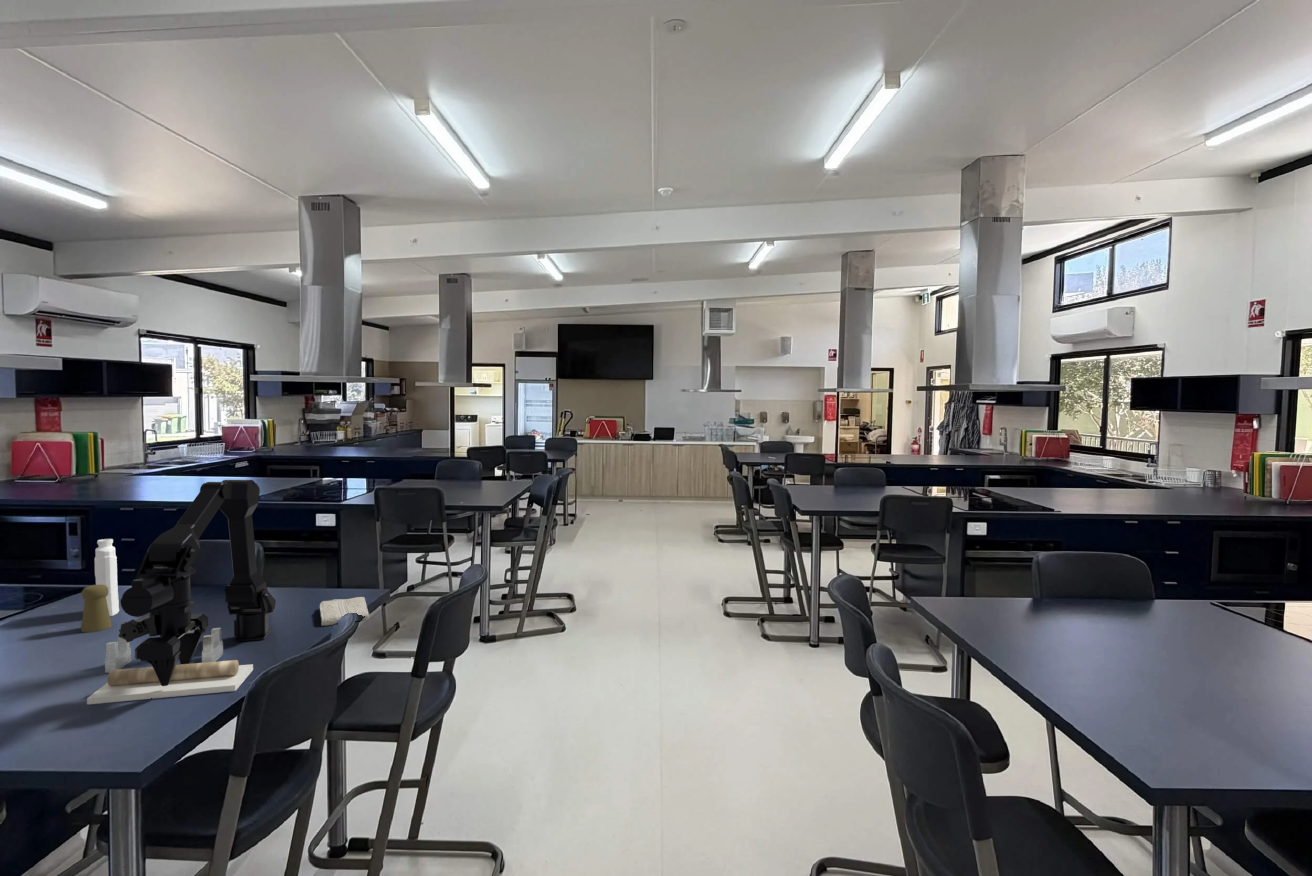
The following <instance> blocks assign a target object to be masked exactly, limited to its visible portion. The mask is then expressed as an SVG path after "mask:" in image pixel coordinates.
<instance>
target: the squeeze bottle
mask: <svg viewBox="0 0 1312 876" xmlns="http://www.w3.org/2000/svg"><path fill="white" fill-rule="evenodd" d="M113 543H114V539H113V538H104V539H103V538H102V539H98V540H97V542H96V544H97V545H98V547H96V548H95V557H94V577H95V585H106V586H107V587H108V589H109V592H108V595H107V596H106V600H107V605H108V610H109V615H110V617H113V616H115V615H117V614H118V613H119V612H120V607H119V606H120V605H119V604H120V602H119V601H120V600H119V592H118V591H119V589H118V588H119V586H118V563H117V562H118V560H117V559H118V557H117V555H116V547H115V546H113Z"/></svg>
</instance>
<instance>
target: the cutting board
mask: <svg viewBox="0 0 1312 876" xmlns="http://www.w3.org/2000/svg"><path fill="white" fill-rule="evenodd" d="M253 670H254V664H253V663H252V664H239V668H238V672H237V674H236V675H231V676H220V677H208V678H196V679H185V680H173V681H170V682H169V685H168V686H161V684H160V682H150V683H138V684H126V685H115V686H109V685H108V682H107V683H105V684H103V686H101V687H100V688H98V689H97V690H96V691H95V692H93V693H92V694H90V695H89V696H88V697H87V698H86V705H97V704H106V703H119V702H129V701H139V700H151V698H152V699H163V698H172V697H183V696H185V697H186V696H194V695H195V696H196V695H206V694H207V695H208V694H217V693H227V692H236V691H237V690H238V689H239V687H240V686H241V685H242V684H243V682H244V681H245V680H246V679H247V677H249V675H251V673H252V672H253Z"/></svg>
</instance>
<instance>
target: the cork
mask: <svg viewBox="0 0 1312 876" xmlns="http://www.w3.org/2000/svg"><path fill="white" fill-rule="evenodd" d="M108 592H109V589H108V587H107V586H106V585H96V584H92V585H87V586H86V587H84V588H83V590H82V591H81V597H82V599H83V600H84V605H83V610H82V611H83V613H82V619H81V625H80V632H81V633H94V632H95V633H97V632H101V631H104V630H108V629H110V628H111V627H112V620H111V616H110V615H109V610H108V605H107V600H106V596H107V595H108Z"/></svg>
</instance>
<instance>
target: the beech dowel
mask: <svg viewBox="0 0 1312 876" xmlns="http://www.w3.org/2000/svg"><path fill="white" fill-rule="evenodd" d="M239 665H240V664H239V660H238V659H232V660H222V661H215V662H206V663H202V662H197V663H190V664H176V666H175V669H174V671H173V674H172V677H171V680H170V681H173V680H185V679H196V678H208V677H220V676H231V675H236V674H237V672H238V668H239ZM150 682H160V681H159V679H158V677H157V675H156V673H155V670H154V668H153V667H152V666H146V667H134V668H133V667H132V668H121V669H119V670H111V671H110V673H108V675H107V683H108V685H109V686H115V685H126V684H138V683H150Z"/></svg>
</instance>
